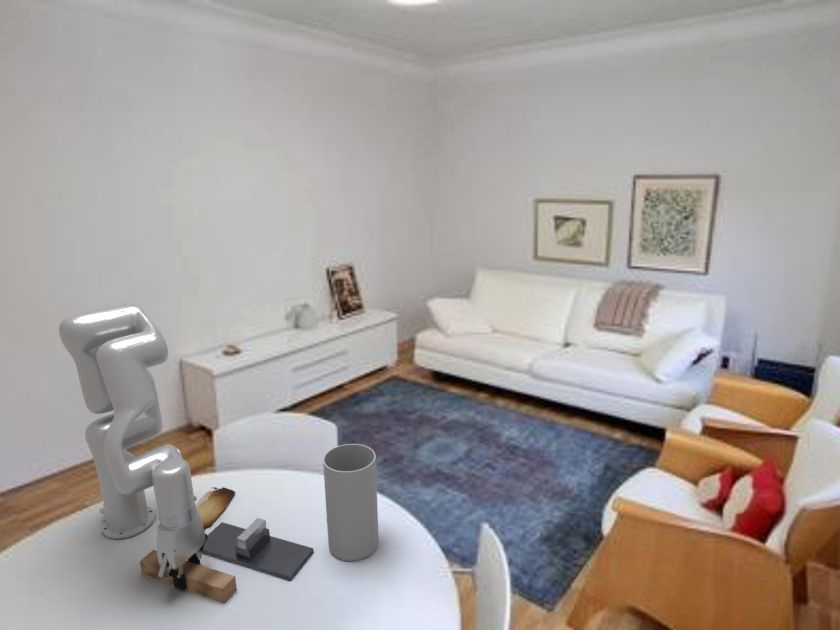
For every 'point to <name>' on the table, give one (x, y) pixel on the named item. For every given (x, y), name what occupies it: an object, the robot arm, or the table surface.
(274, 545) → the stand
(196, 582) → the walnut bar
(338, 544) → the cylinder vase
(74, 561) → the table surface
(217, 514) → the parchment
